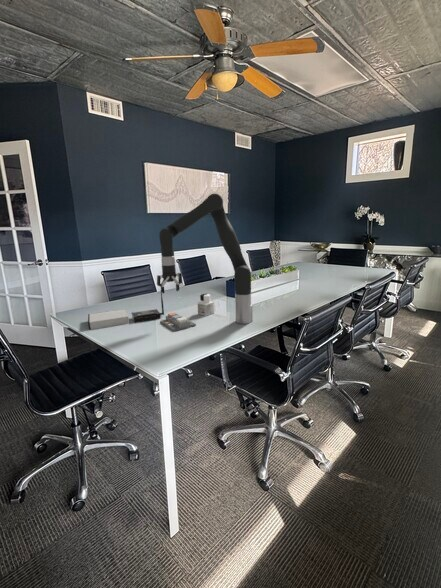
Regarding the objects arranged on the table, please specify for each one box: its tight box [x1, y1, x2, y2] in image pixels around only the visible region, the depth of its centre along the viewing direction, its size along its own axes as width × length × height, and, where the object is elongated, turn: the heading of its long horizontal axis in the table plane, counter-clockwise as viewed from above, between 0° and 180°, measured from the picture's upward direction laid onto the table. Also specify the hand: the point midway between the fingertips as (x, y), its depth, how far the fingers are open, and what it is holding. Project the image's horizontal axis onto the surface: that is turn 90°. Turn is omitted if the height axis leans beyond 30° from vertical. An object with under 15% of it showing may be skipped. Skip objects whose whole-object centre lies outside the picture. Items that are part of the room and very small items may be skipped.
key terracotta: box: [167, 311, 179, 318], centre depth 179 cm, size 4×4×2 cm
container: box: [197, 293, 215, 317], centre depth 192 cm, size 8×8×13 cm
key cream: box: [177, 316, 188, 323], centre depth 169 cm, size 4×4×2 cm
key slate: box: [172, 314, 183, 321], centre depth 174 cm, size 4×4×2 cm
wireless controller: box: [131, 291, 165, 323], centre depth 187 cm, size 20×14×17 cm
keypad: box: [159, 315, 197, 332], centre depth 174 cm, size 14×19×4 cm
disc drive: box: [87, 309, 130, 330], centre depth 183 cm, size 18×22×5 cm
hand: (170, 291), depth 170 cm, fingers open, 8 cm apart
